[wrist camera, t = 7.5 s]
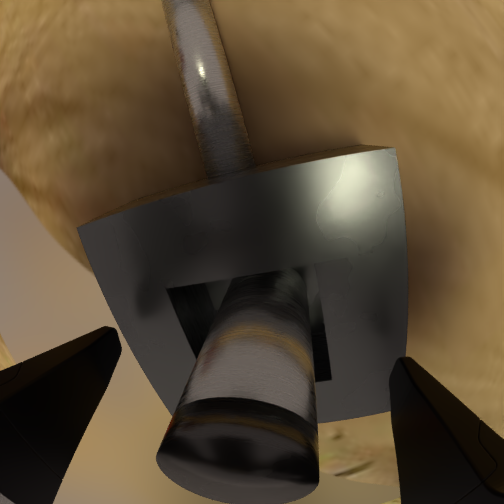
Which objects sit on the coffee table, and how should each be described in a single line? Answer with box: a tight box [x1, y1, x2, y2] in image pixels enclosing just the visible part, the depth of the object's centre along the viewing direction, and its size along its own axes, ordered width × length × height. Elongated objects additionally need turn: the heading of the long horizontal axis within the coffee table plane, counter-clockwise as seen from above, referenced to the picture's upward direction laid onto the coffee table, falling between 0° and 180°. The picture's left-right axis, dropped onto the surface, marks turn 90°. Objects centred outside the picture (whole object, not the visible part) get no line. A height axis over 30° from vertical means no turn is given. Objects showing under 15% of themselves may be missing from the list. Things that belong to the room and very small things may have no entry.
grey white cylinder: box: [156, 268, 319, 504], centre depth 8 cm, size 3×3×8 cm
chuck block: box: [77, 0, 408, 423], centre depth 10 cm, size 19×10×4 cm, turn 14°
